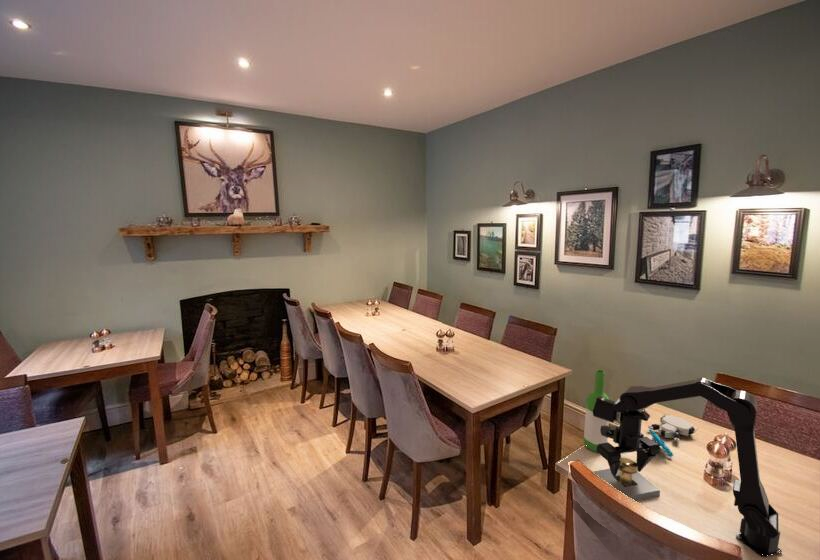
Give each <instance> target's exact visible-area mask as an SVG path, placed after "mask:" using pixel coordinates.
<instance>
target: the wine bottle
mask: <svg viewBox="0 0 820 560" xmlns="http://www.w3.org/2000/svg"><path fill="white" fill-rule="evenodd" d="M605 376H606V372H605V371H604V370H602V369H597V370H595V376H594V377H595V379H594V390H592V391H591V392H589V393H588V395H587V397H586V404H585V405H586V406H585V416H584V432H583V444H584V446H585V448H587V449H588V450H590V451H592V452H595V453H598V452H597V451H596V450H597V445H598V444H601V443H608V438H606V437H605V436H602V435H601V431H600V429H601V426H603V425H606V426H610V425H609V424H610V422H609V421H606V420H603V419H600V418H597V417H594V416H593V409H594V406H595V403H596V398H597V397H598V396H600V397H603V398H605V399H608V400H610V399H609V396H608V395H607V394H606V393H605V391H604V390H605V378H606V377H605ZM586 445H587V446H586Z"/></svg>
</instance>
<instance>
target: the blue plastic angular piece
mask: <svg viewBox="0 0 820 560" xmlns="http://www.w3.org/2000/svg"><path fill="white" fill-rule="evenodd" d="M648 431H649V432H648V433H649V434H650V435H651V436H652V438H651V440H652V441H654V442H655V443H657V444H658V445H659V447H660V448H662V449H663V450H664V451H666V452H665V453H667V454H668V455H669V456H670V457H673V456H674V454H673V452H672V451H671V449H670V448H669V447H668V446H667V445H666V443H665V441H664V440H663V439H661V438H660V436H659V435H658V434H657V433H655V431H654V430H653V429H649V430H648Z"/></svg>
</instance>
